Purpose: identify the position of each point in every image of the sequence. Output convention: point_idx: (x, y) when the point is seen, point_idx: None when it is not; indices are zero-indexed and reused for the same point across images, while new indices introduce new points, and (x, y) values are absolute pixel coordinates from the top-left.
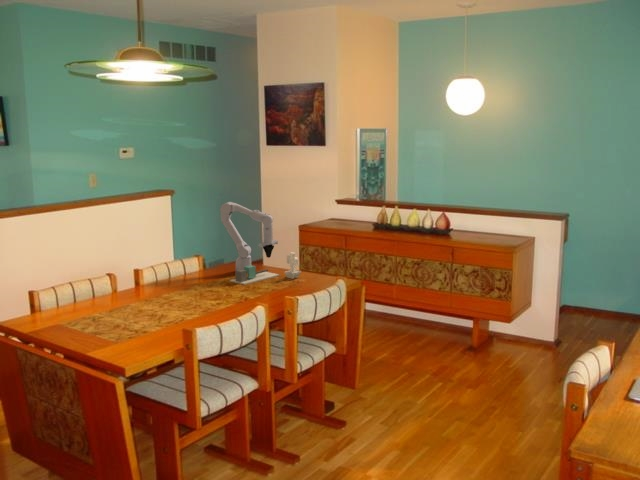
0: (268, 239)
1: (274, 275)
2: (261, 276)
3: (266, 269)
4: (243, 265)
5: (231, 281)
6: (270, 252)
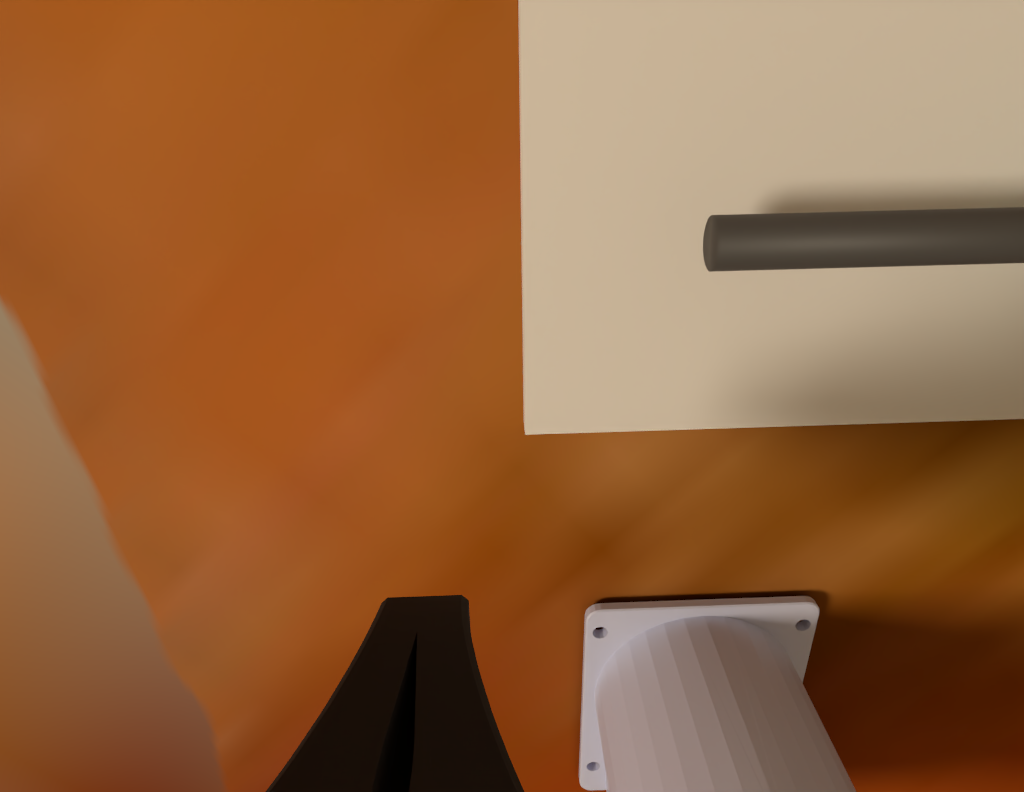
0: None
1: None
2: (948, 152)
3: (754, 248)
4: (840, 761)
5: None
6: (380, 748)
